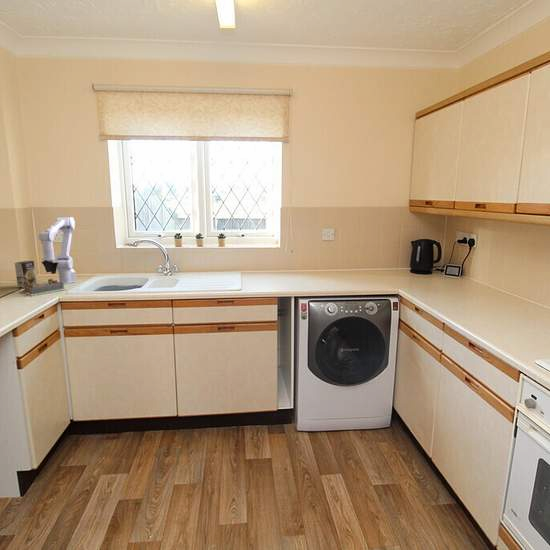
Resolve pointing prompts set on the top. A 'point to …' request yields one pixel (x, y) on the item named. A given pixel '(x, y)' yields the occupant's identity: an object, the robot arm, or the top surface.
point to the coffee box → (25, 273)
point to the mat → (45, 292)
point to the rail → (46, 288)
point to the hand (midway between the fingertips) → (51, 272)
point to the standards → (27, 285)
